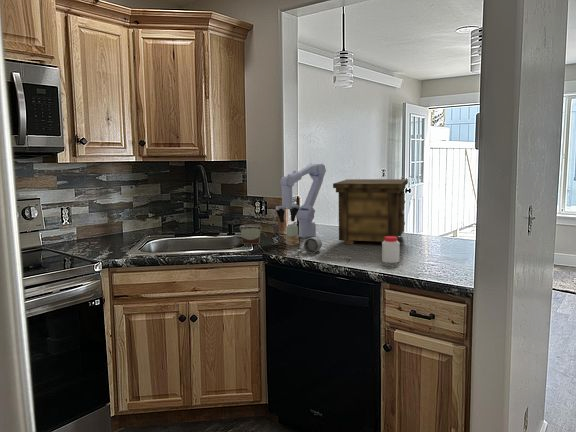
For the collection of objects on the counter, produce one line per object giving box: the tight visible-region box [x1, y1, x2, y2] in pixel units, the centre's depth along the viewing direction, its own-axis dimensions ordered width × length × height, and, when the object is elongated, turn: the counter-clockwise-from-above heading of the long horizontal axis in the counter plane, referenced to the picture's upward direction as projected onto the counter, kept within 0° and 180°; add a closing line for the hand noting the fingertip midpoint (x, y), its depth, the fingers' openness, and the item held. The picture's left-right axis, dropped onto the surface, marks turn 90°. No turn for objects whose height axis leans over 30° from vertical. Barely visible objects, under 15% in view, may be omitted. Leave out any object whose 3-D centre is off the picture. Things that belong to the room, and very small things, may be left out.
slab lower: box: [285, 239, 300, 246], centre depth 261 cm, size 5×5×2 cm
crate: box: [332, 178, 409, 245], centre depth 264 cm, size 35×35×33 cm
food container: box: [238, 223, 263, 245], centre depth 266 cm, size 12×6×10 cm, turn 84°
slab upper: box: [285, 234, 300, 241], centre depth 260 cm, size 5×5×2 cm
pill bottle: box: [381, 236, 401, 264], centre depth 216 cm, size 8×8×11 cm
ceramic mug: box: [299, 236, 323, 254], centre depth 240 cm, size 11×8×8 cm
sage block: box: [285, 225, 299, 236], centre depth 260 cm, size 4×4×5 cm
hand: (287, 221), depth 271 cm, fingers open, 7 cm apart
